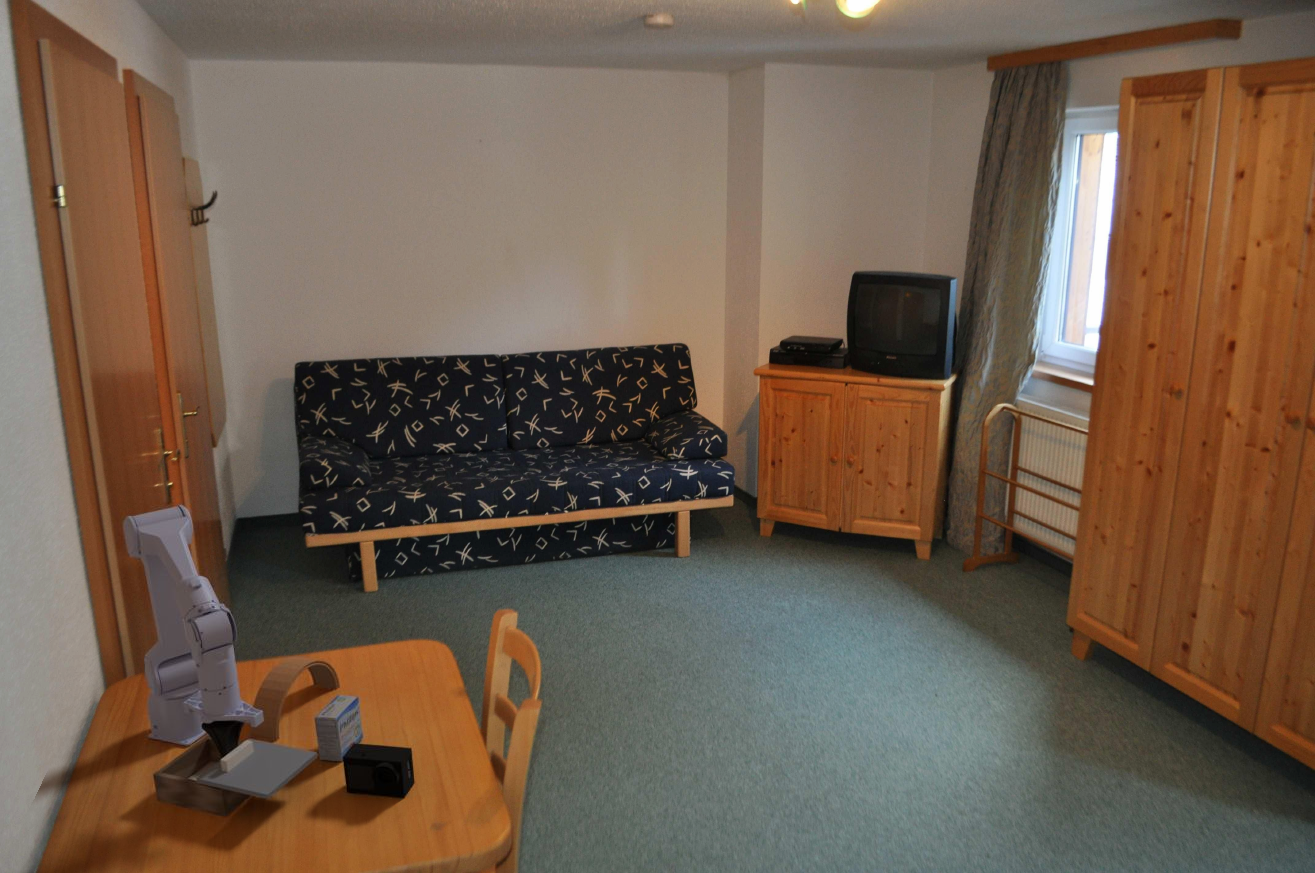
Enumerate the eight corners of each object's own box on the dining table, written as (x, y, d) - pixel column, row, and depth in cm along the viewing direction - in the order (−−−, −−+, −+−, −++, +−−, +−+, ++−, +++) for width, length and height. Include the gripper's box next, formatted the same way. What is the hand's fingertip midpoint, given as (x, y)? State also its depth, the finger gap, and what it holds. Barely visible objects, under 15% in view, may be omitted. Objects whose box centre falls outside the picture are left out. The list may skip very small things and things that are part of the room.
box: (157, 800, 161) (152, 774, 159) (211, 760, 172) (207, 735, 170) (225, 816, 156) (221, 789, 155) (276, 774, 167) (273, 748, 166)
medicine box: (342, 762, 170) (337, 719, 168) (318, 760, 171) (313, 716, 169) (363, 738, 178) (359, 695, 175) (341, 735, 179) (336, 693, 176)
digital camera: (342, 797, 161) (338, 760, 159) (357, 778, 166) (353, 742, 164) (401, 803, 159) (397, 765, 157) (414, 783, 164) (411, 747, 162)
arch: (250, 736, 179) (243, 688, 176) (316, 683, 197) (310, 638, 195) (276, 741, 177) (270, 692, 175) (341, 687, 196) (335, 642, 193)
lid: (197, 782, 156) (194, 767, 156) (249, 742, 167) (247, 728, 167) (268, 798, 152) (266, 783, 151) (317, 756, 163) (315, 741, 162)
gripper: (164, 687, 156) (176, 761, 160) (237, 701, 152) (248, 777, 155) (197, 666, 163) (208, 738, 166) (268, 679, 158) (278, 753, 162)
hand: (229, 755), depth 161 cm, fingers closed
